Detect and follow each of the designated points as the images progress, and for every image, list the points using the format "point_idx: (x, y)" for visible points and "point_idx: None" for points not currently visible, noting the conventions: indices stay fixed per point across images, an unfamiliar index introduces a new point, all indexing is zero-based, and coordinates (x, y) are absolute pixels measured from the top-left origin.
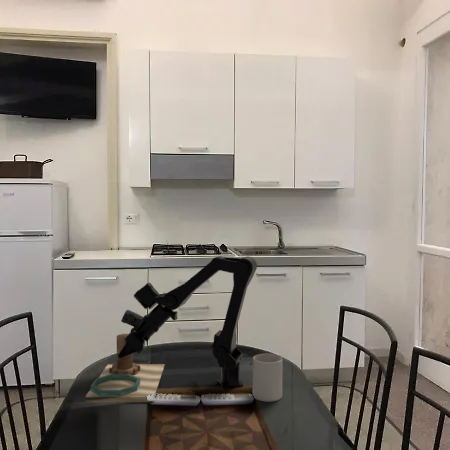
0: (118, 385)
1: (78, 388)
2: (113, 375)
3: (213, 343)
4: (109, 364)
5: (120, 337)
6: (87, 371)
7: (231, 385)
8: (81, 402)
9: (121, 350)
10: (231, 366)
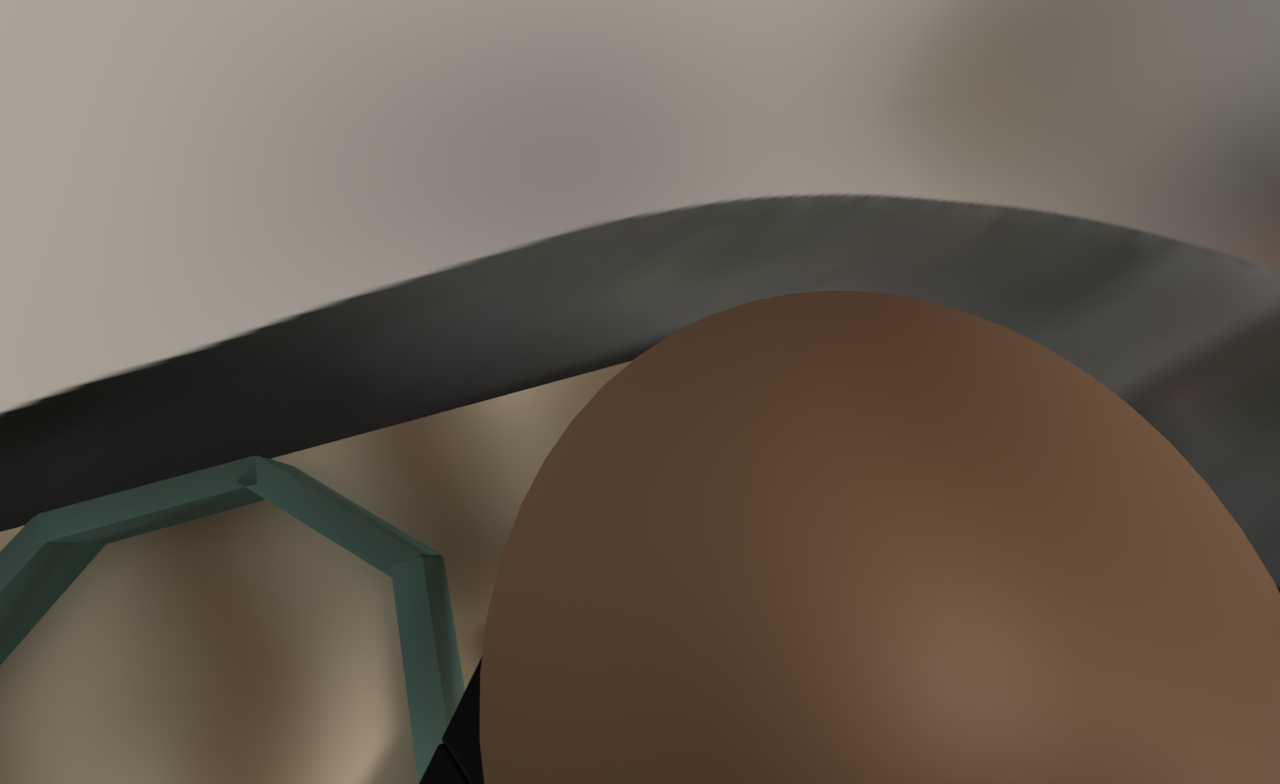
0: (255, 746)
1: (322, 335)
2: (394, 594)
3: None
4: None
5: (570, 585)
6: (685, 217)
7: None
8: (4, 518)
9: (478, 673)
10: None
